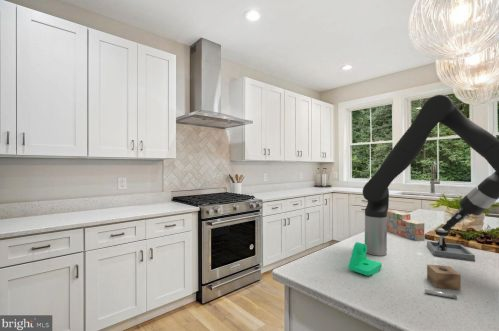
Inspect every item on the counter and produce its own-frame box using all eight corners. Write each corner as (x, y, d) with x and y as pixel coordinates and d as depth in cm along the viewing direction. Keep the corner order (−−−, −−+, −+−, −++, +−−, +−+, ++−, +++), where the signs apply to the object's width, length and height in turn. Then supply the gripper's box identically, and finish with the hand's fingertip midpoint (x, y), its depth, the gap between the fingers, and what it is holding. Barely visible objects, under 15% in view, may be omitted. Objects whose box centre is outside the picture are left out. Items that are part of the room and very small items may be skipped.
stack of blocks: (424, 240, 136) (424, 217, 135) (414, 241, 134) (415, 218, 134) (394, 229, 156) (394, 210, 156) (385, 230, 155) (385, 210, 155)
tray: (434, 256, 112) (434, 250, 112) (427, 245, 126) (427, 241, 126) (474, 261, 107) (474, 255, 107) (462, 249, 120) (462, 244, 120)
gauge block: (436, 287, 85) (436, 272, 85) (427, 277, 92) (427, 264, 91) (460, 289, 83) (460, 274, 83) (449, 280, 90) (449, 266, 90)
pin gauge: (425, 294, 80) (425, 290, 80) (424, 292, 82) (424, 288, 82) (456, 299, 77) (456, 295, 77) (455, 297, 78) (455, 293, 78)
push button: (446, 254, 113) (446, 232, 113) (432, 250, 117) (432, 229, 117) (450, 250, 117) (450, 229, 117) (437, 247, 122) (437, 227, 121)
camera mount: (368, 278, 91) (368, 250, 91) (348, 271, 97) (348, 245, 97) (382, 269, 99) (382, 243, 99) (363, 263, 105) (363, 239, 105)
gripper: (475, 188, 101) (447, 213, 111) (460, 198, 94) (432, 224, 104) (495, 201, 97) (464, 226, 107) (482, 213, 89) (450, 239, 100)
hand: (448, 225), depth 105 cm, fingers open, 8 cm apart
